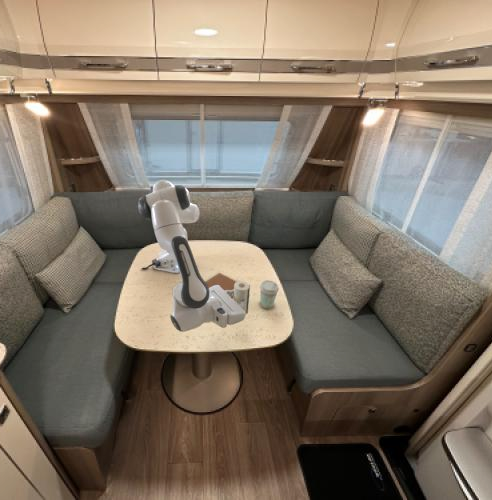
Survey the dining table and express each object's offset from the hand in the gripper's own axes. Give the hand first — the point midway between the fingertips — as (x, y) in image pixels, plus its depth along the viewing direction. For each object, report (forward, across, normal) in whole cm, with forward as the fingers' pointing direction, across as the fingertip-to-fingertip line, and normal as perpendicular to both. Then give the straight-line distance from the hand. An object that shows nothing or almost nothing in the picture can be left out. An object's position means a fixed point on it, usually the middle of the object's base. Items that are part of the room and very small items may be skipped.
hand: (240, 296), depth 110 cm
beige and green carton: (0, 0, -8) cm, 8 cm away
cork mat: (+10, -27, -17) cm, 33 cm away
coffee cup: (+20, -4, -17) cm, 27 cm away
